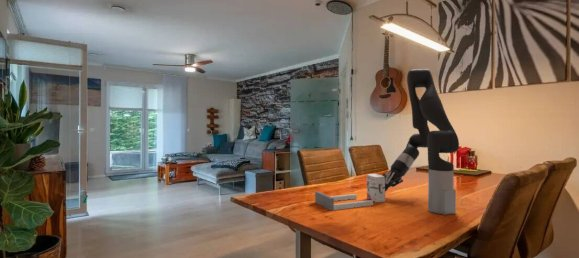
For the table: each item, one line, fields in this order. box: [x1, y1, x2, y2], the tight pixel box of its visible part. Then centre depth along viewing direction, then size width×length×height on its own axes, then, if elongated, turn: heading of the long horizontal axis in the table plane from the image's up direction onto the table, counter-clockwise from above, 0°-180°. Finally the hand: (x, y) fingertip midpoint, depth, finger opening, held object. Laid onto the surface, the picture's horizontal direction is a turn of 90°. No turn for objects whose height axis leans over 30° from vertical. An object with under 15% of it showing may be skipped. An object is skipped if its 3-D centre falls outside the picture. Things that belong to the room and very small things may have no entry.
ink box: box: [366, 173, 386, 203], centre depth 141 cm, size 9×5×12 cm, turn 17°
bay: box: [314, 190, 374, 211], centre depth 135 cm, size 14×22×5 cm, turn 112°
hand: (382, 191), depth 143 cm, fingers closed
